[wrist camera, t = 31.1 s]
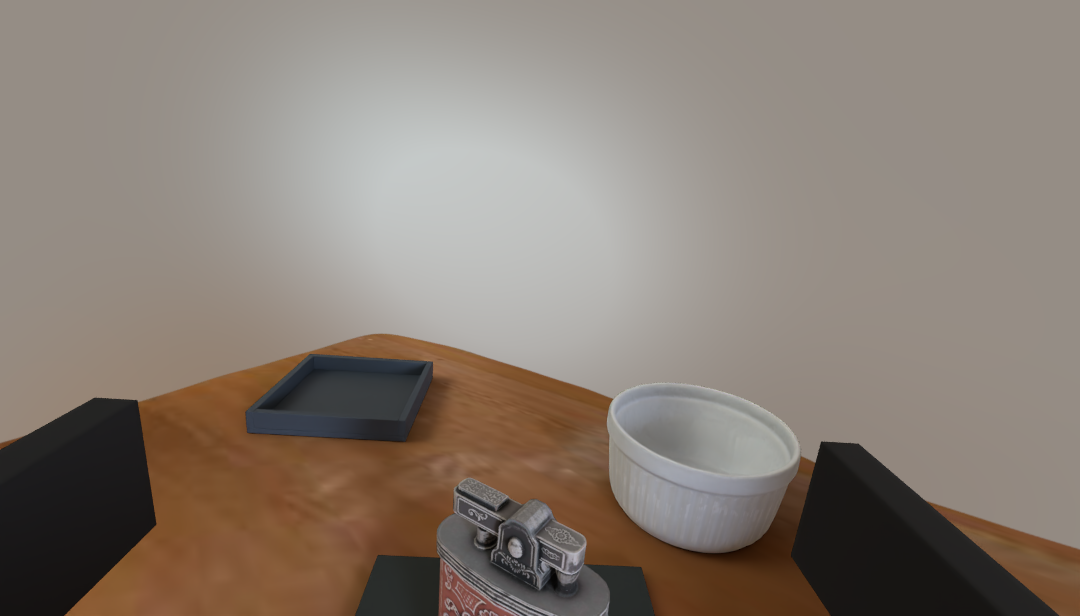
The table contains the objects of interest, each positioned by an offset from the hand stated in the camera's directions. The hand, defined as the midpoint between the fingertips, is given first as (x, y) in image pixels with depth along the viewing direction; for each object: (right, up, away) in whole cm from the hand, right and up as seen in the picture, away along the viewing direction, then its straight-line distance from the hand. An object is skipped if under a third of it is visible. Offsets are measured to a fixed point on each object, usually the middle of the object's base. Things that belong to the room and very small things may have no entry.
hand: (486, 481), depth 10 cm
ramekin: (+12, -12, +28) cm, 33 cm away
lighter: (0, -14, +13) cm, 19 cm away
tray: (-17, -6, +39) cm, 43 cm away
